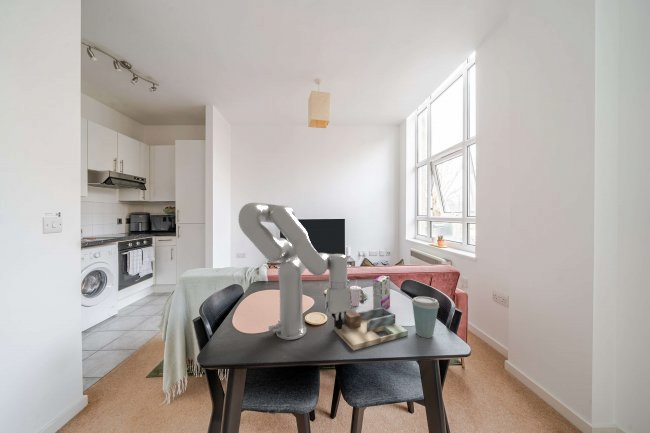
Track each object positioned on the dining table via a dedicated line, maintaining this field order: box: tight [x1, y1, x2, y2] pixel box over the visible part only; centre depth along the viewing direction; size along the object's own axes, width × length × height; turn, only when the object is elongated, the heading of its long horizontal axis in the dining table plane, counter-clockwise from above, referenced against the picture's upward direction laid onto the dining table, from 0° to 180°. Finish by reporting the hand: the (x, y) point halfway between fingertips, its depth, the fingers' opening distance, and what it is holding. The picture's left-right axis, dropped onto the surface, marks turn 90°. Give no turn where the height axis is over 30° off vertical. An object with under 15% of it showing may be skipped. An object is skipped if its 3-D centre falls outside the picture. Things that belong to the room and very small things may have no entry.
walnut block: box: [345, 310, 361, 329], centre depth 102 cm, size 5×5×5 cm
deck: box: [333, 307, 409, 351], centre depth 100 cm, size 26×17×6 cm, turn 114°
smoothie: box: [349, 279, 362, 307], centre depth 129 cm, size 6×6×14 cm
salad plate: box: [348, 286, 369, 303], centre depth 140 cm, size 19×18×5 cm
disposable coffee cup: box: [411, 296, 440, 339], centre depth 98 cm, size 11×11×15 cm
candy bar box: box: [372, 274, 391, 310], centre depth 124 cm, size 11×5×16 cm, turn 143°
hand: (338, 327), depth 98 cm, fingers closed
